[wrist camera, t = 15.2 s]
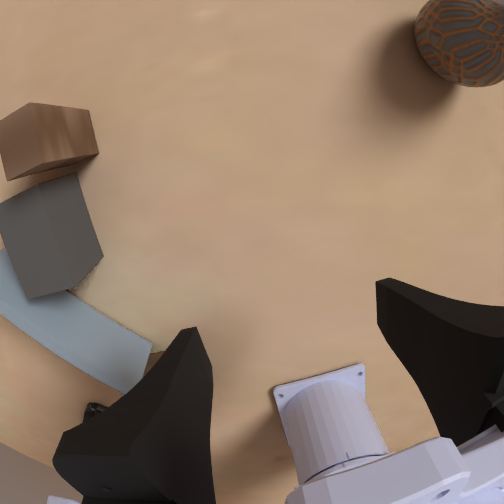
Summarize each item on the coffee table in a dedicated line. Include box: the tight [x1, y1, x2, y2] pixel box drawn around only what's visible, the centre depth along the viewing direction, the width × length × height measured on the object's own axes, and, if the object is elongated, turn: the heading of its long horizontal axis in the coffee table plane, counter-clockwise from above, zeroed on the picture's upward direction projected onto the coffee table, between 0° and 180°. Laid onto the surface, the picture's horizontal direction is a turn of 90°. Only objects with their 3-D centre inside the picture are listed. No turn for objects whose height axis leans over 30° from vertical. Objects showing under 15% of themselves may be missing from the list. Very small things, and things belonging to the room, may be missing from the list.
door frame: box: [0, 103, 165, 378], centre depth 17 cm, size 20×2×7 cm, turn 13°
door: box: [0, 247, 152, 394], centre depth 19 cm, size 14×2×5 cm, turn 55°
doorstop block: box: [0, 173, 104, 299], centre depth 17 cm, size 6×4×5 cm, turn 13°
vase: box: [415, 0, 504, 87], centre depth 12 cm, size 7×7×9 cm
